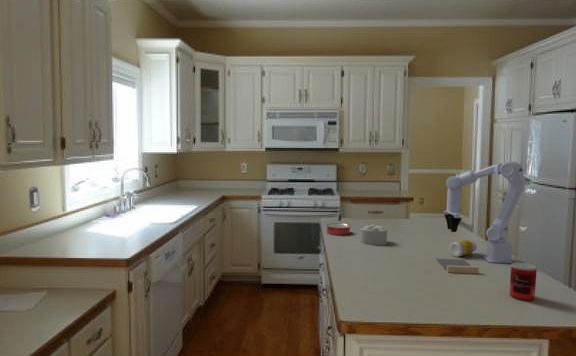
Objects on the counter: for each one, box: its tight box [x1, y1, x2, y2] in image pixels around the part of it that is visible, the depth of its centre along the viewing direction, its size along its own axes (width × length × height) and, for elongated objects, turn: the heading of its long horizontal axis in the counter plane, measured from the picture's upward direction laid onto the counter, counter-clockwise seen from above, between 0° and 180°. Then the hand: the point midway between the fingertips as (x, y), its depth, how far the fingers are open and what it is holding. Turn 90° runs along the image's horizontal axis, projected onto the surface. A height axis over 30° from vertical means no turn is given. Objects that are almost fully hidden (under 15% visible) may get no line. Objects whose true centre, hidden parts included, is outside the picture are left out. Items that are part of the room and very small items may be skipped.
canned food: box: [509, 262, 538, 302], centre depth 153 cm, size 8×8×11 cm
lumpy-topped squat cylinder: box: [359, 224, 388, 246], centre depth 230 cm, size 10×13×9 cm
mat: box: [436, 258, 480, 274], centre depth 189 cm, size 12×19×2 cm, turn 175°
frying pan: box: [326, 214, 351, 236], centre depth 261 cm, size 32×13×6 cm, turn 177°
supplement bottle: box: [449, 239, 478, 258], centre depth 208 cm, size 7×7×13 cm
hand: (452, 230), depth 212 cm, fingers open, 5 cm apart
